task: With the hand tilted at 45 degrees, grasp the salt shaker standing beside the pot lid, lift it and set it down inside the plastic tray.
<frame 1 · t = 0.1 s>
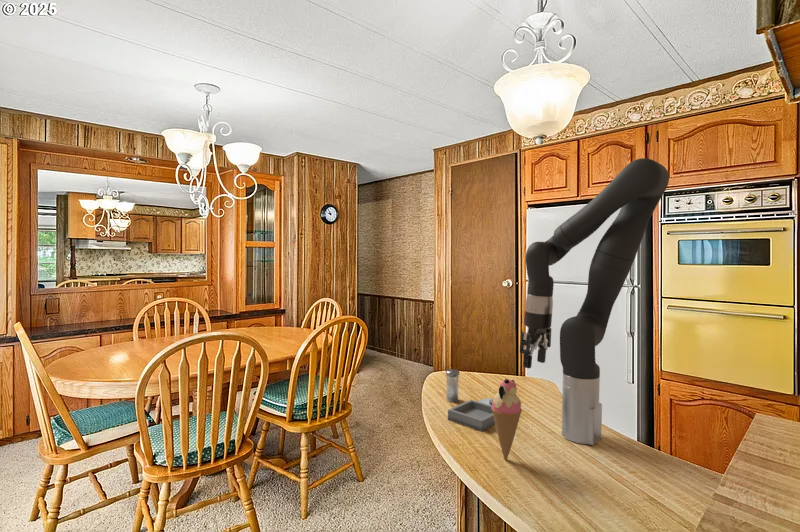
hand: (534, 364, 124), 17 cm above the worktop, tool pointing down, fingers open, 8 cm apart
salt shaker: (452, 400, 143), on the worktop
ice cream cone: (506, 460, 103), on the worktop
tray: (476, 419, 127), on the worktop
pot lid: (492, 408, 135), on the worktop
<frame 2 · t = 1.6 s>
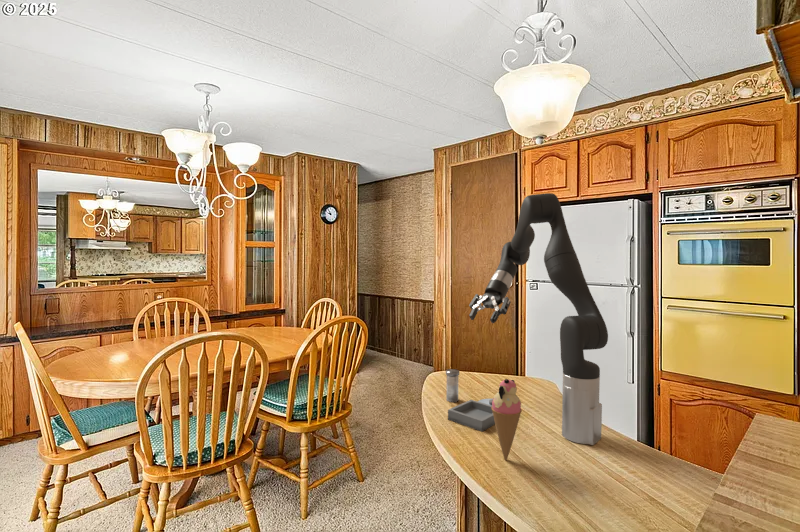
hand: (481, 320, 148), 26 cm above the worktop, tool tilted 45°, fingers open, 8 cm apart
nothing on the worktop moved.
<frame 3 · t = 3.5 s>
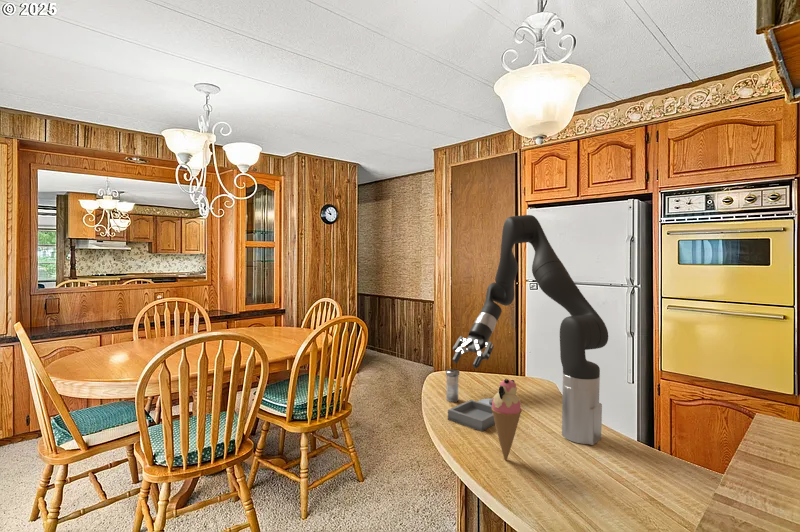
hand: (464, 364, 147), 11 cm above the worktop, tool tilted 45°, fingers open, 8 cm apart
nothing on the worktop moved.
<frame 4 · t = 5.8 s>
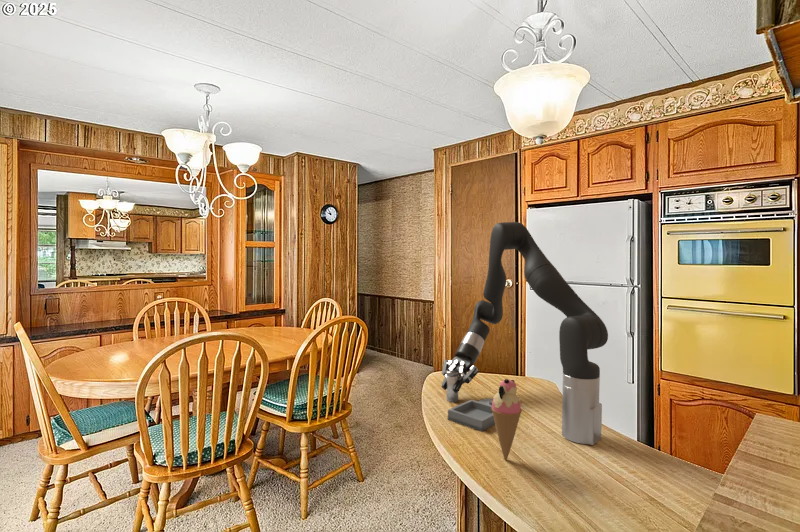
hand: (449, 389, 141), 4 cm above the worktop, tool tilted 45°, fingers closed on salt shaker, 4 cm apart
salt shaker: (452, 400, 143), on the worktop, touching gripper
everything else where it was.
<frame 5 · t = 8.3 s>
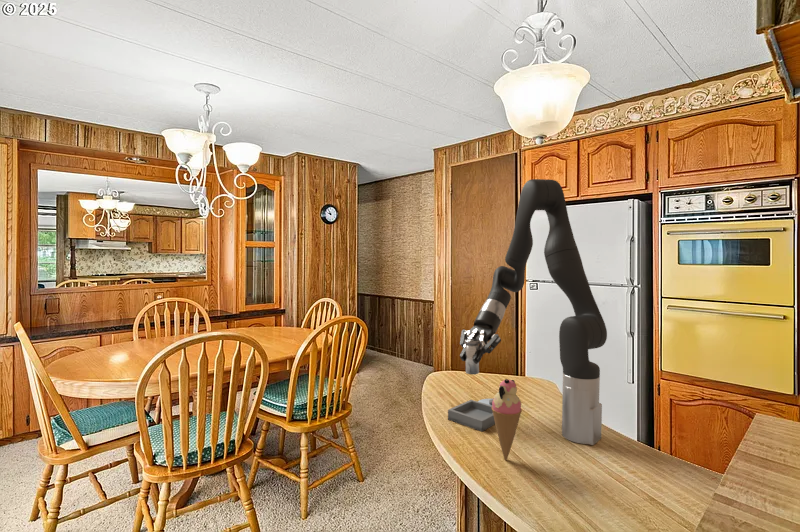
hand: (468, 360, 127), 18 cm above the worktop, tool tilted 45°, fingers closed on salt shaker, 4 cm apart
salt shaker: (472, 372, 129), point 13 cm above the worktop, touching gripper
everything else where it was.
when the fingers open (6 cm above the worktop, at t = 11.2 s): salt shaker drops 1 cm, resting on tray.
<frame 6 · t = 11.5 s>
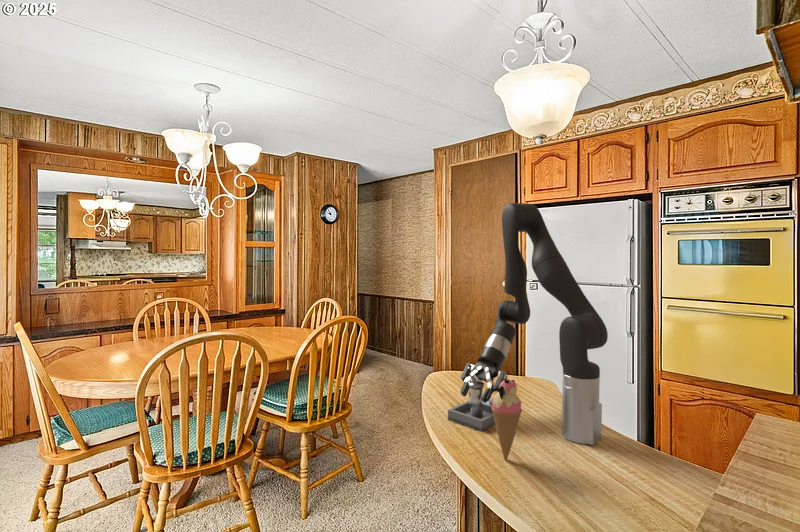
hand: (473, 398, 125), 7 cm above the worktop, tool tilted 45°, fingers open, 7 cm apart
salt shaker: (475, 415, 127), point 1 cm above the worktop, touching tray
everything else where it was.
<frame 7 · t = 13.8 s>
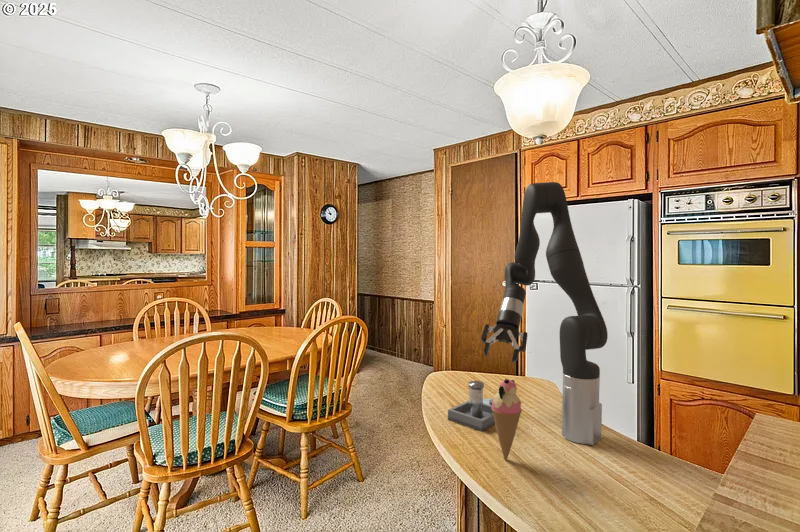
hand: (499, 358, 134), 16 cm above the worktop, tool tilted 35°, fingers open, 8 cm apart
nothing on the worktop moved.
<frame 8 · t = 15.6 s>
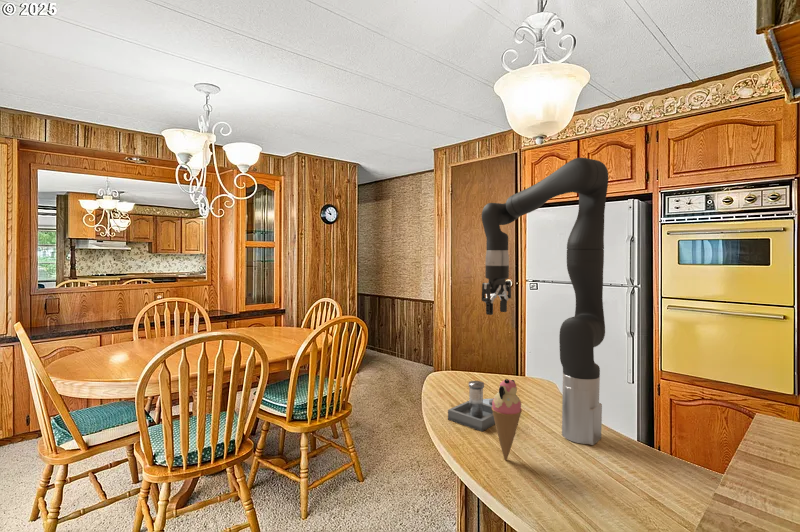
hand: (496, 313, 139), 30 cm above the worktop, tool pointing down, fingers open, 8 cm apart
nothing on the worktop moved.
at the end: salt shaker inside the target area on the tray (0.1 cm from its centre), point 1.0 cm above the tray's base; the gripper is holding nothing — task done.
